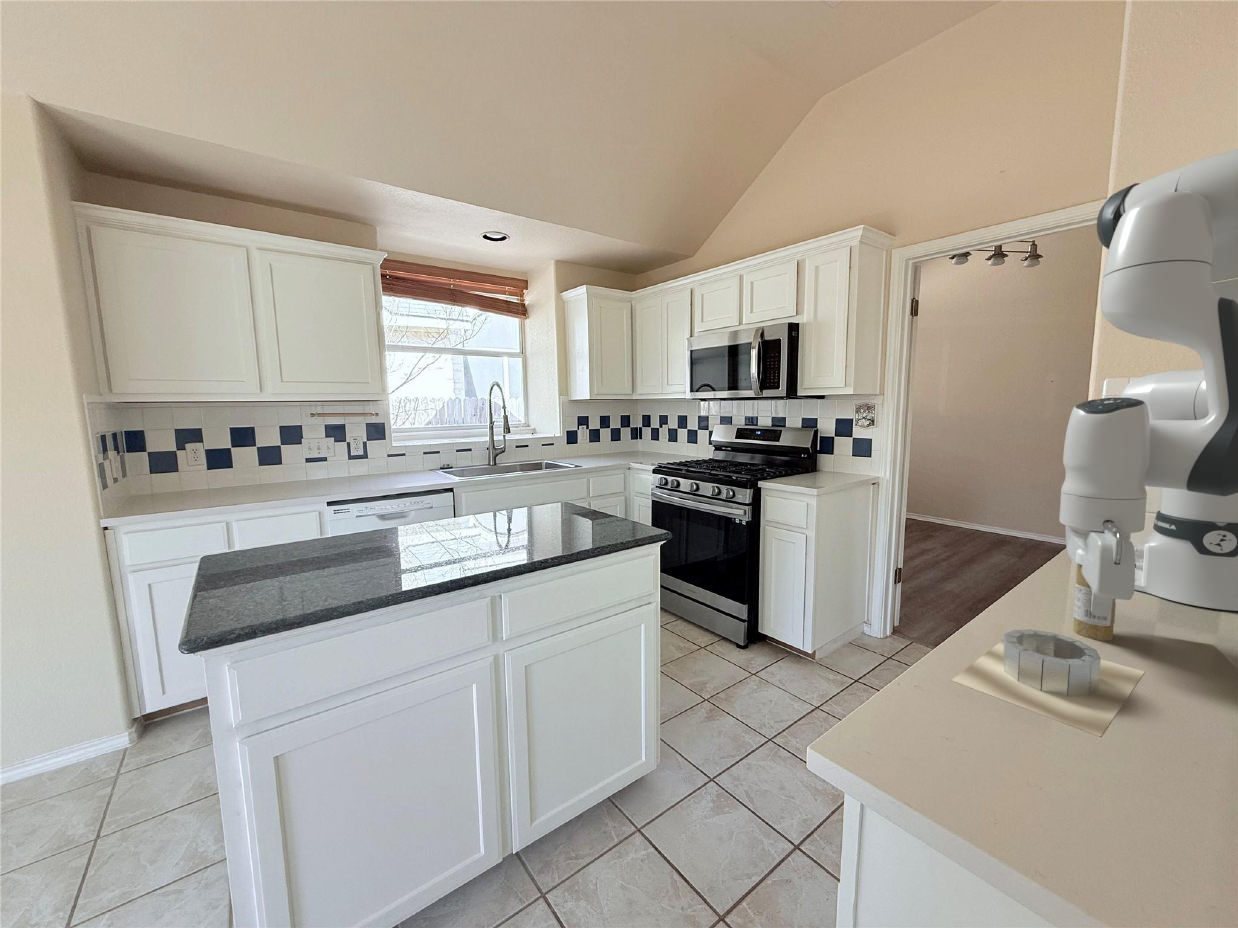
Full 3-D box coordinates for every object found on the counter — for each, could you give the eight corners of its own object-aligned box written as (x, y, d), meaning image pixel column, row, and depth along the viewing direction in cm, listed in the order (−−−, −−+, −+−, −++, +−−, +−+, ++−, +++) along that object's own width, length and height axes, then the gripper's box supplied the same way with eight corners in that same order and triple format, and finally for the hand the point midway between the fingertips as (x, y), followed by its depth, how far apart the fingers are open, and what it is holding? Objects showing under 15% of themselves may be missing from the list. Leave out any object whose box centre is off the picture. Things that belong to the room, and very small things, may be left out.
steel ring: (1000, 652, 71) (1002, 624, 70) (1087, 668, 66) (1089, 638, 65) (1006, 683, 63) (1008, 653, 63) (1105, 704, 58) (1108, 671, 58)
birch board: (1010, 641, 76) (1011, 633, 76) (1143, 680, 65) (1144, 671, 64) (951, 688, 65) (951, 680, 64) (1099, 747, 53) (1100, 736, 53)
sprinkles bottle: (1117, 642, 74) (1124, 552, 73) (1107, 651, 72) (1114, 558, 70) (1076, 631, 78) (1082, 545, 77) (1066, 639, 76) (1071, 551, 74)
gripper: (1156, 533, 62) (1147, 641, 64) (1112, 501, 79) (1105, 587, 81) (1087, 528, 66) (1080, 631, 67) (1058, 499, 83) (1053, 581, 84)
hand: (1094, 607), depth 74 cm, fingers closed on sprinkles bottle, 4 cm apart
